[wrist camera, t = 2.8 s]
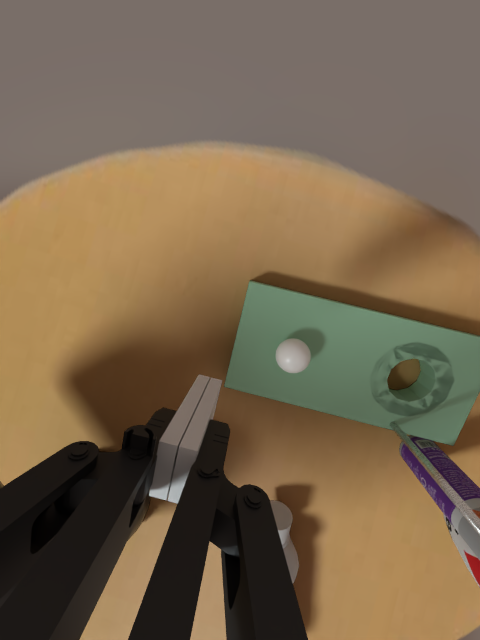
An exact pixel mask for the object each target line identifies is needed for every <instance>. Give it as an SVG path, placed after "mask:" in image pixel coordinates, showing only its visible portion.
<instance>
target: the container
mask: <svg viewBox="0 0 480 640" xmlns="http://www.w3.org/2000/svg"><path fill="white" fill-rule="evenodd" d="M408 437H409V438H410V440H411V441H412V442H413V443H414V444H415V445H416V446H417V448H418V449H419V450H420V451H421V452H422V453H423V454H424V456H425V457H426V458H427V459H428V460H429V461H430V462H431V464H432V465H433V466H434V467H435V468H436V469H437V471H438V472H439V473H440V474H441V475H442V476H443V477H444V479H445V480H446V481H447V482H448V483H449V484H450V485H451V487H452V488H453V489H454V490H455V491H456V492H457V493H458V495H459V496H460V497H461V498H462V499H463V500H464V502H465V503H466V504H467V505H468V506H469V507H470V508H471V509H473V510H476V511H480V488H479V487H478V486H477V485H476V484H475V483H474V482H473V481H472V480H471V479H470V478H469V477H468V476H467V475H466V474H465V473H464V472H463V471H462V470H461V469H460V468H459V467H458V466H457V465H456V464H455V463H454V462H453V461H452V460H451V459H450V458H449V457H448V456H447V455H446V454H445V453H444V452H443V451H442V450H441V449H440V448H439V447H438V446H437V445H436V444H435V443H434V442H433V441H432V440H429V439H425V438H421V437H417V436H413V435H411V436H408ZM399 452H400V455H401V456H402V458H403V459H404V461H405V462H406V463H407V465H408V466H409V467H410V469H411V470H412V471H413V473H414V474H415V475H416V477H417V478H418V480H419V481H420V482H421V484H422V485H423V486H424V488H425V489H426V490H427V492H428V493H429V494H430V496H431V497H432V498H433V500H434V501H435V502H436V504H437V505H438V506H439V508H440V509H441V511H442V512H443V513H444V515H445V516H446V517H447V519H448V520H449V521H450V523H451V524H452V525H453V527H454V528H455V529H456V530H457V532H458V533H459V534H460V536H461V537H462V538H463V539H464V541H465V542H466V543H467V545H468V546H469V547H470V548H471V550H472V551H473V552H474V554H475V555H476V556H477V557H478V559H479V560H480V535H479V534H478V533H477V532H476V530H475V529H474V528H473V527H472V525H471V524H470V523H469V522H468V521H467V519H466V518H465V517H464V516H463V514H462V513H461V512H460V511H459V510H458V508H457V507H456V506H455V505H454V503H453V502H452V501H451V500H450V499H449V497H448V496H447V495H446V494H445V492H444V491H443V490H442V489H441V488H440V486H439V485H438V484H437V483H436V481H435V480H434V479H433V478H432V476H431V475H430V474H429V473H428V472H427V470H426V469H425V468H424V467H423V465H422V464H421V463H420V462H419V461H418V459H417V458H416V457H415V456H414V454H413V453H412V452H411V451H410V450H409V448H408V447H407V446H406V445H405V443H404V442H403V441H402V442H401V444H400V448H399Z"/></svg>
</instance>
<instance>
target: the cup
mask: <svg viewBox="0 0 480 640" xmlns="http://www.w3.org/2000/svg"><path fill="white" fill-rule="evenodd" d="M444 519H445V521H446V524H447V527H448V529H449V532H450V535H451V537H452V539H453V541H454V543H455V545H456V547H457V549H458V551H459V553H460V555H461V557H462V558H463V560H464V562H465V564H466V566H467V568H468V570H469V571H470V573H471V574H472V576H473V578H474V579H475V581H476V582H477V584H478V586H479V587H480V560H479V559H478V557H477V556H476V555H475V554H474V552H473V551H472V550H471V548H470V547H469V546H468V545H467V543H466V542H465V541H464V539H463V538H462V537H461V536H460V534H459V533H458V532H457V530H456V529H455V528H454V527H453V525H452V524H451V523H450V521H449V520H448V519H447V517H446V516H445V515H444Z"/></svg>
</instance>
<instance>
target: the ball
mask: <svg viewBox="0 0 480 640" xmlns="http://www.w3.org/2000/svg"><path fill="white" fill-rule="evenodd" d="M310 360H311V353H310V350H309V348H308V346H307V345H306V344H305V343H304V342H303V341H301V340H299V339H294V338H292V339H287V340H284V341H283V342H282V343H280V344H279V346H278V348H277V350H276V361H277V363H278V365H279V367H280V368H281V369H283V370H284V371H286V372H288V373H299V372H301V371H303V370H305V369H306V368H307V366H308V365H309V363H310Z"/></svg>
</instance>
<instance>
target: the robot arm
mask: <svg viewBox="0 0 480 640" xmlns="http://www.w3.org/2000/svg"><path fill="white" fill-rule="evenodd" d="M209 380H210V381H209ZM221 384H222V380H219V379H216V378H212V377H211V379H210V377H208V376H204V375H200V374H199V375H198V377H197V378H196V380H195V382H194V383H193V385H192V387H191V388H190V390H189V392H188V393H187V395H186V397H185V399H184V400H183V402H182V404H181V405H180V407H179V409H178V410H177V411H174V410H171V409H167V408H162V409H160V410H158V411H156V412H155V413H154V415H153V416H152V417H151V419H150V420H149V422H148V423H147V424H146V426H145V425H137V426H133V427H130V428H128V429H127V430H126V431H124V437H123V444H122V449H121V450H120V451H117V452H99V450H98V446H97V445H95V444H94V443H92V442H89V441H79V442H75V443H72V444H70V445H68V446H66V447H64V448H63V449H61V450H60V451H58V452H57V453H55V454H53V455H52V456H50V457H49V458H47V459H46V460H44V461H42V462H41V463H39V464H38V465H36V466H35V467H33V468H32V469H30V470H28V471H27V472H25V473H24V474H22V475H21V476H19V477H17V478H16V479H14V480H13V481H11V482H10V483H8V484H7V485H5V486H4V485H3V484H2V483H1V482H0V640H79V639H80V637H81V635H82V633H83V631H84V629H85V627H86V625H87V623H88V620H89V618H90V616H91V614H92V612H93V610H94V608H95V606H96V604H97V602H98V600H99V598H100V596H101V594H102V592H103V590H104V588H105V585H106V583H107V581H108V579H109V577H110V575H111V573H112V571H113V569H114V567H115V565H116V563H117V561H118V559H119V557H120V555H121V553H122V550H123V548H124V546H125V544H126V542H127V541H128V540H129V539H130V537H131V536H132V535H133V534H134V533H135V532H136V531H137V529H138V528H139V526H140V525H141V523H142V521H143V519H144V517H145V515H146V513H147V510H148V508H149V503H150V496H152V497H155V498H159V499H162V500H167V497H168V495H169V497H168V501H170V502H173V503H177V507H176V510H175V512H174V515H173V518H172V521H171V523H170V526H169V529H168V532H167V534H166V537H165V540H164V543H163V545H162V548H161V551H160V553H159V556H158V559H157V562H156V564H155V567H154V570H153V573H152V575H151V578H150V581H149V584H148V586H147V589H146V592H145V595H144V597H143V600H142V603H141V606H140V608H139V611H138V614H137V617H136V619H135V622H134V625H133V627H132V630H131V633H130V636H129V638H128V640H190V637H191V632H192V627H193V621H194V616H195V611H196V606H197V601H198V596H199V591H200V586H201V581H202V576H203V571H204V566H205V561H206V556H207V551H208V546H209V541H210V542H212V543H213V544H215V545H216V546H217V547H219V548H220V549H221V557H222V573H223V589H224V605H225V620H226V636H227V640H308V638H307V634H306V630H305V627H304V623H303V620H302V616H301V612H300V609H299V605H298V601H297V598H296V594H295V590H294V587H293V583H292V579H291V576H290V572H289V568H288V565H287V561H286V558H285V554H284V550H283V547H282V543H281V539H280V536H279V532H278V528H277V525H276V521H275V517H274V514H273V510H272V507H271V503H270V500H269V498H268V496H267V494H266V493H265V492H264V491H263V490H262V489H261V488H259V487H257V486H255V485H251V484H249V485H244V486H242V487H240V488H238V487H237V486H235V485H233V484H232V483H231V482H230V481H229V480H228V479H227V478H226V476H225V474H224V471H223V466H224V461H225V456H226V451H227V445H228V440H229V435H230V429H229V426H228V424H226V423H223V422H219V421H215V420H213V417H214V413H215V409H216V405H217V401H218V396H219V392H220V388H221ZM149 489H150V493H149Z"/></svg>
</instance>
